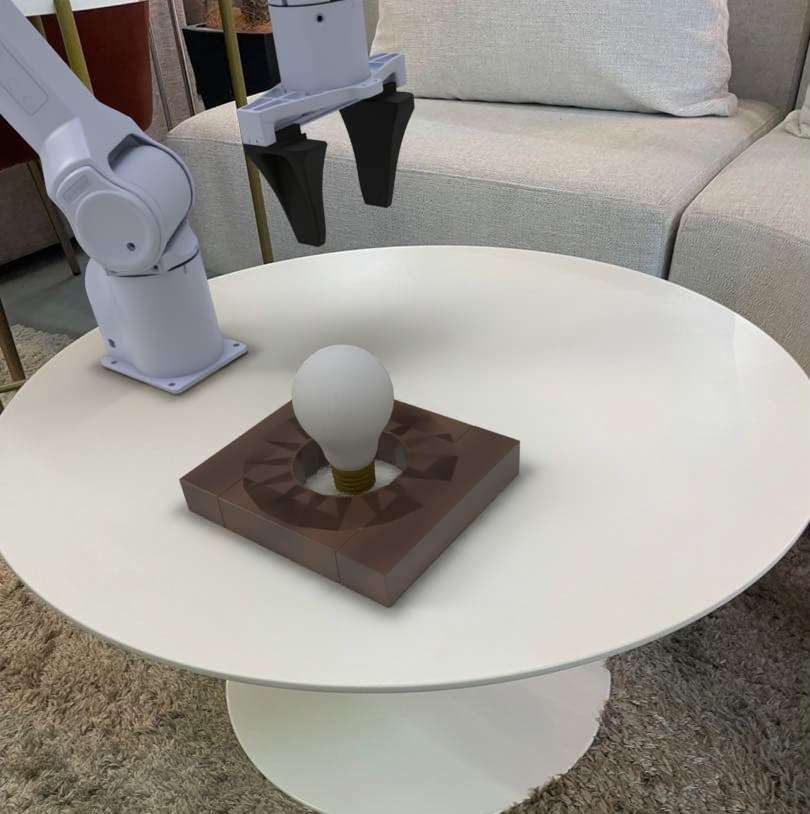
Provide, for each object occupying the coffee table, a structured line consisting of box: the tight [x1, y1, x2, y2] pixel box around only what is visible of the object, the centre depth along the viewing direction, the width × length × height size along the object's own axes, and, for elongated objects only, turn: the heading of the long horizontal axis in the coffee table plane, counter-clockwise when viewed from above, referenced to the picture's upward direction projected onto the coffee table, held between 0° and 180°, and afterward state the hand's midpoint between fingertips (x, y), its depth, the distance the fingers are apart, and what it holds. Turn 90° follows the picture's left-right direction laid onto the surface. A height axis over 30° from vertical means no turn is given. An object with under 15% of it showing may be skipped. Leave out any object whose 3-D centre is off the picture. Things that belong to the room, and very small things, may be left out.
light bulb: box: [291, 343, 395, 496], centre depth 48 cm, size 6×6×10 cm
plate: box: [178, 398, 521, 608], centre depth 51 cm, size 16×14×2 cm
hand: (346, 223), depth 58 cm, fingers open, 7 cm apart
